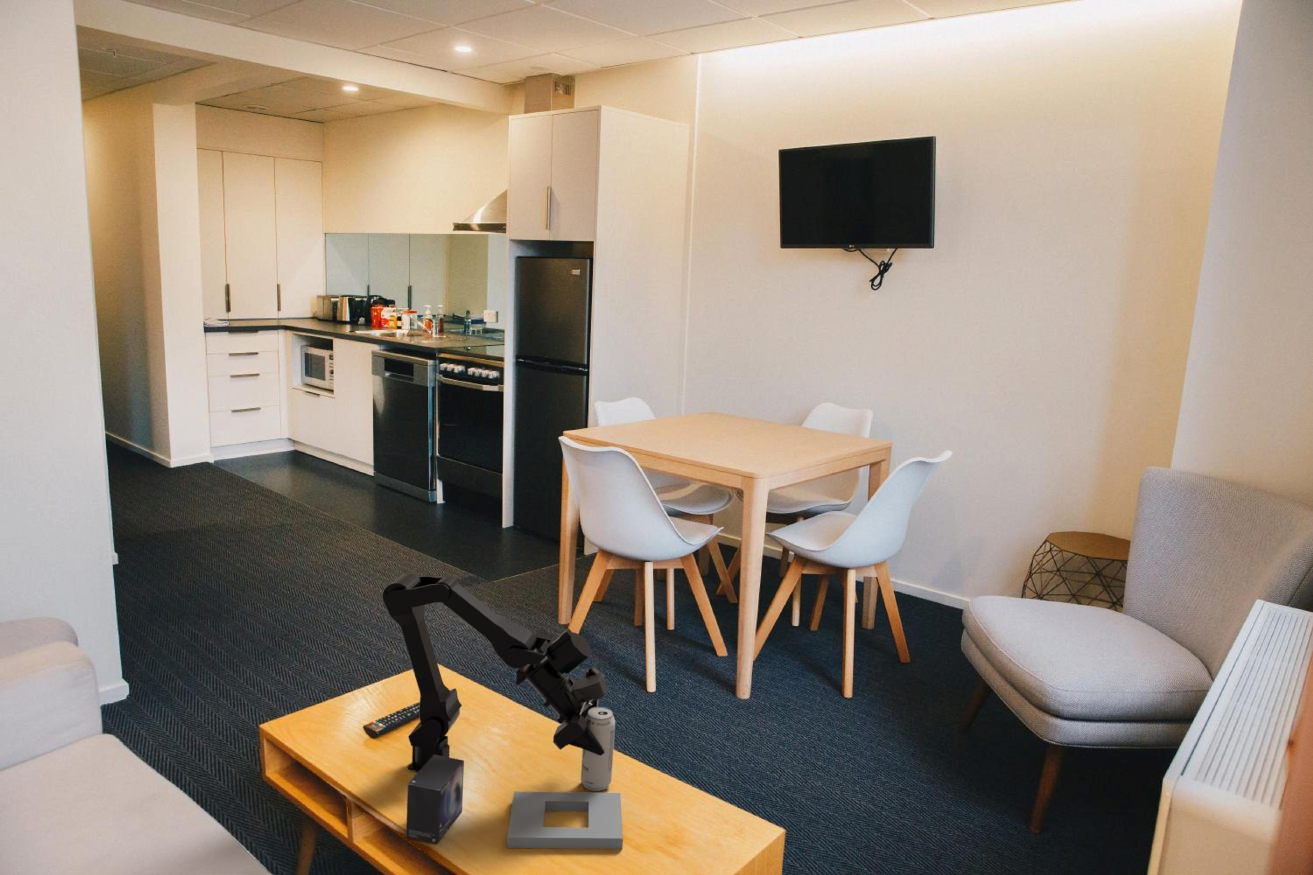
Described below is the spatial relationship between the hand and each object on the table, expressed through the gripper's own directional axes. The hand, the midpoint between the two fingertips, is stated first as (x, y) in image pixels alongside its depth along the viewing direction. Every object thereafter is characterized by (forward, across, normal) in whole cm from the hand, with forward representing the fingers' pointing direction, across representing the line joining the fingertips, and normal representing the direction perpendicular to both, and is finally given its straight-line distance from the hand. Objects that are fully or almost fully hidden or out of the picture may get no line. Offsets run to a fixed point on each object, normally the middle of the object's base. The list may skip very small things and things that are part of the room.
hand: (605, 745), depth 170 cm
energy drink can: (+5, 0, +7) cm, 9 cm away
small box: (-13, -18, +26) cm, 34 cm away
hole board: (+3, -14, +9) cm, 17 cm away
